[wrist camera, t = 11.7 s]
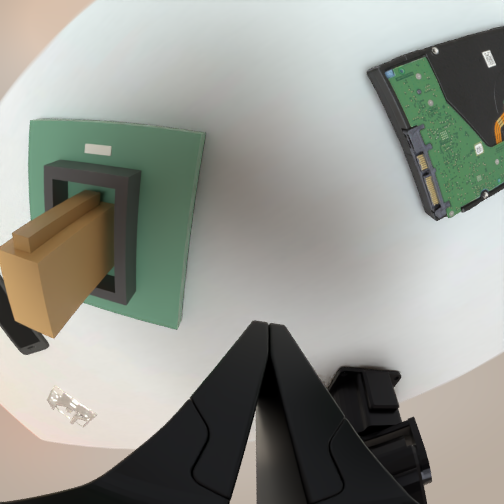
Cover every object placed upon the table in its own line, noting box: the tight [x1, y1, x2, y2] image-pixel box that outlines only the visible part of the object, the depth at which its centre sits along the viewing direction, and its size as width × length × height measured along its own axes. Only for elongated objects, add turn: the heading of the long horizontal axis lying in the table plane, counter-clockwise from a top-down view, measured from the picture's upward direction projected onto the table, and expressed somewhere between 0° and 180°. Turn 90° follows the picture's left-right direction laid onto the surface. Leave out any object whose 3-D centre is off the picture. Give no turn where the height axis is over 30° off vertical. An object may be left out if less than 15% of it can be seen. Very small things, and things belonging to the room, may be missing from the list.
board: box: [28, 119, 206, 330], centre depth 18 cm, size 14×13×3 cm
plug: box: [0, 190, 115, 338], centre depth 15 cm, size 5×3×8 cm, turn 168°
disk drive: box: [367, 26, 504, 221], centre depth 13 cm, size 10×3×15 cm
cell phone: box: [0, 275, 49, 355], centre depth 25 cm, size 7×14×1 cm, turn 25°
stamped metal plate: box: [47, 385, 97, 427], centre depth 32 cm, size 8×7×2 cm
